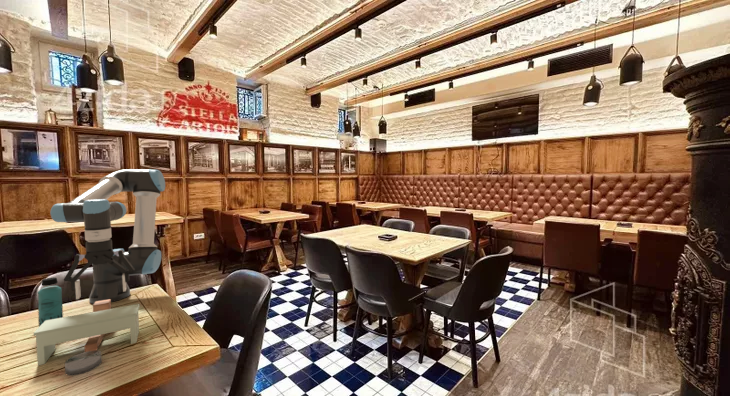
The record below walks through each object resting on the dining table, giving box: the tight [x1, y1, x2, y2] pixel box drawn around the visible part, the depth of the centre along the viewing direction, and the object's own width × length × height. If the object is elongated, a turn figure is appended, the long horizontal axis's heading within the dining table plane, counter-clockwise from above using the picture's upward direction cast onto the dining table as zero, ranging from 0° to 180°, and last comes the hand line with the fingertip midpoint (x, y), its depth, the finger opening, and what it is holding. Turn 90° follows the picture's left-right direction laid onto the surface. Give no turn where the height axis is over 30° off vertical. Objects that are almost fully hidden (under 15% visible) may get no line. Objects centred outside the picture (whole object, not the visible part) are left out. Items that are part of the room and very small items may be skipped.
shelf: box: [32, 303, 141, 366], centre depth 101 cm, size 10×25×10 cm, turn 123°
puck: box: [64, 350, 103, 376], centre depth 90 cm, size 8×8×3 cm
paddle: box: [84, 299, 112, 352], centre depth 107 cm, size 22×4×10 cm, turn 33°
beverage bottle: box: [37, 277, 64, 328], centre depth 113 cm, size 6×7×20 cm
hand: (102, 294), depth 115 cm, fingers open, 13 cm apart
